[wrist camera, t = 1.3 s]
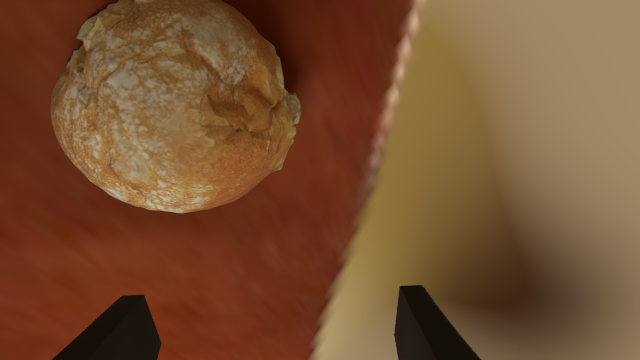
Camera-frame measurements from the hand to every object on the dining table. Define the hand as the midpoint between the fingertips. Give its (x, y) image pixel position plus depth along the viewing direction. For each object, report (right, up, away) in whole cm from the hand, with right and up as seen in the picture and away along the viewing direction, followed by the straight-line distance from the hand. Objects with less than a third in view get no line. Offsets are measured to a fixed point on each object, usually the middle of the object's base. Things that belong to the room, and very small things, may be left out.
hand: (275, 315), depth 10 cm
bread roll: (-5, +8, +8) cm, 13 cm away
